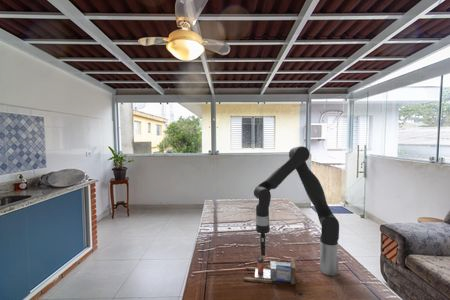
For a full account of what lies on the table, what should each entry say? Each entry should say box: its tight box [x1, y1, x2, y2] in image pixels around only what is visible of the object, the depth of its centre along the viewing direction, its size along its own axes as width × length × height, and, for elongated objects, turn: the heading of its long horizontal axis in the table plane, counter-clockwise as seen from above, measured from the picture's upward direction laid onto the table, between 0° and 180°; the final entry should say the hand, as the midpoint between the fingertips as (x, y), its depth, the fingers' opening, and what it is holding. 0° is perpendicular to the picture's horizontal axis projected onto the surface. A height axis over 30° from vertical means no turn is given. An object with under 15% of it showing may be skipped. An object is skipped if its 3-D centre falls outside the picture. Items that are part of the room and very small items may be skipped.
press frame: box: [243, 257, 296, 285], centre depth 134 cm, size 27×12×9 cm, turn 79°
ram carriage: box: [254, 256, 277, 282], centre depth 135 cm, size 12×9×10 cm
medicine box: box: [276, 261, 291, 283], centre depth 132 cm, size 8×4×9 cm, turn 79°
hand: (263, 251), depth 134 cm, fingers open, 8 cm apart
